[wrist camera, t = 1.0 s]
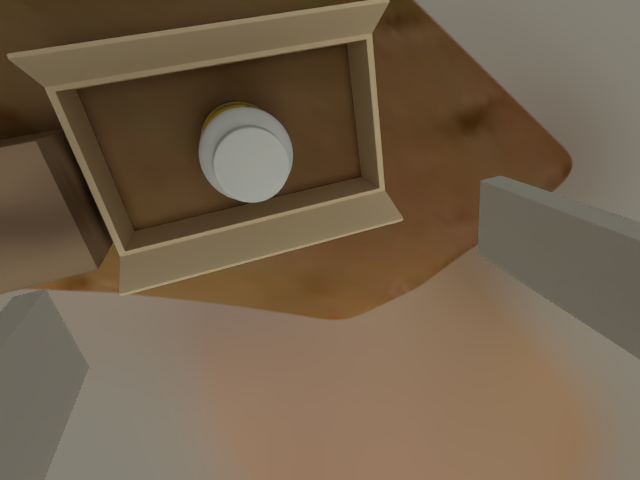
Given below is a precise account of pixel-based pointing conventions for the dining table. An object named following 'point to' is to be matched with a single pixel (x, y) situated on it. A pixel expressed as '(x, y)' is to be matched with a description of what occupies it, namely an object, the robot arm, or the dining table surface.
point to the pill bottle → (245, 152)
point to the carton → (246, 220)
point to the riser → (46, 213)
